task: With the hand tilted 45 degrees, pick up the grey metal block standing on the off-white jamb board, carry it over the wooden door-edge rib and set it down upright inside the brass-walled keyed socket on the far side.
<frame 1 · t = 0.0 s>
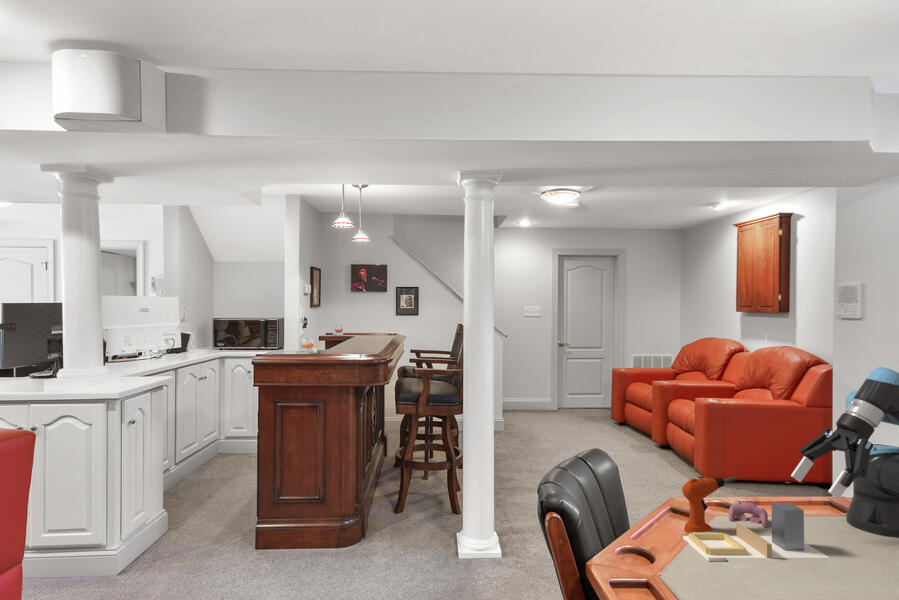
hand: (813, 486, 137), 15 cm above the table, tool tilted 35°, fingers open, 13 cm apart
video game controller: (748, 525, 152), on the table
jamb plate: (753, 549, 134), on the table
grey metal block: (787, 546, 135), point 1 cm above the table, touching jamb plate
toy drill: (710, 530, 147), on the table
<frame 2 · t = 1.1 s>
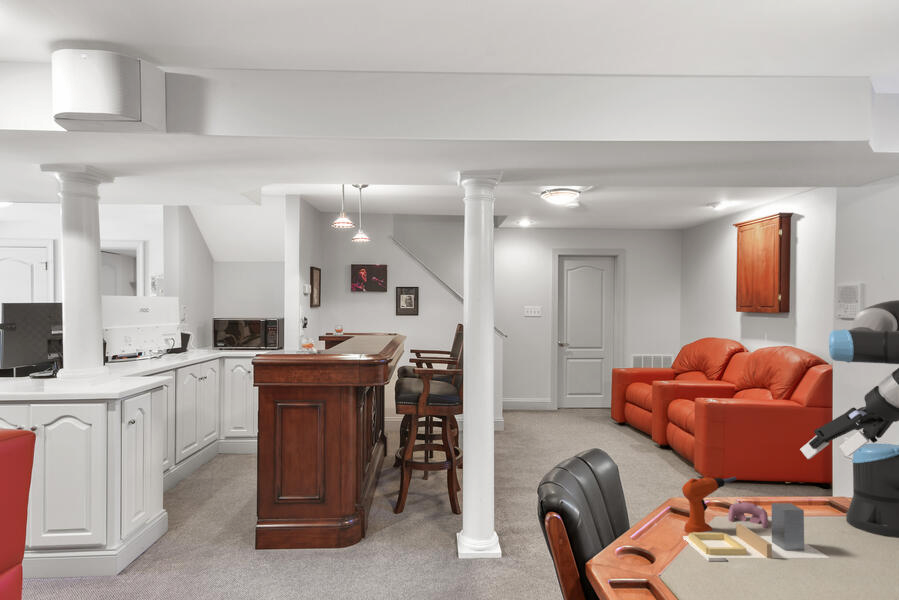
hand: (824, 452, 127), 27 cm above the table, tool tilted 45°, fingers open, 13 cm apart
nothing on the table moved.
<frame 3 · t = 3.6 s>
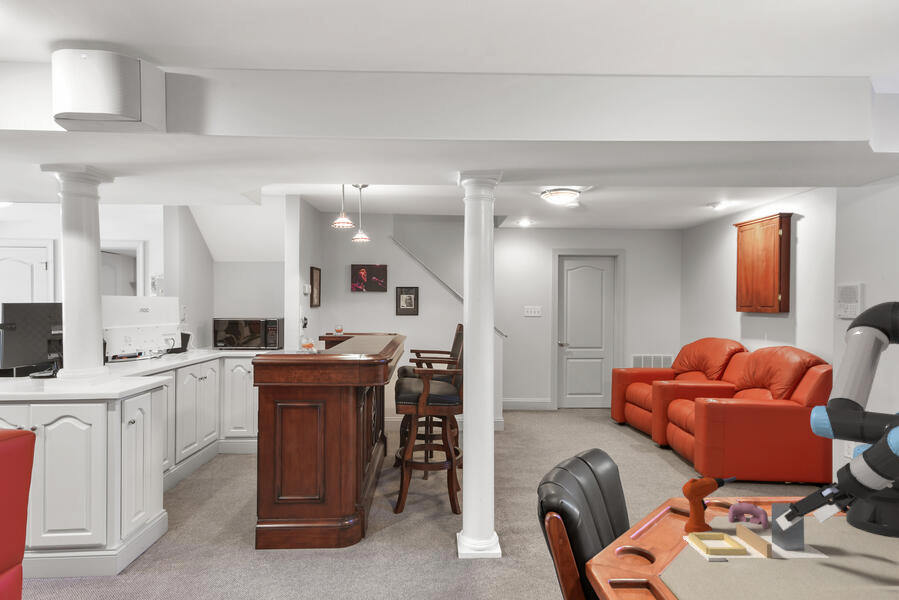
hand: (799, 521, 131), 9 cm above the table, tool tilted 45°, fingers open, 13 cm apart
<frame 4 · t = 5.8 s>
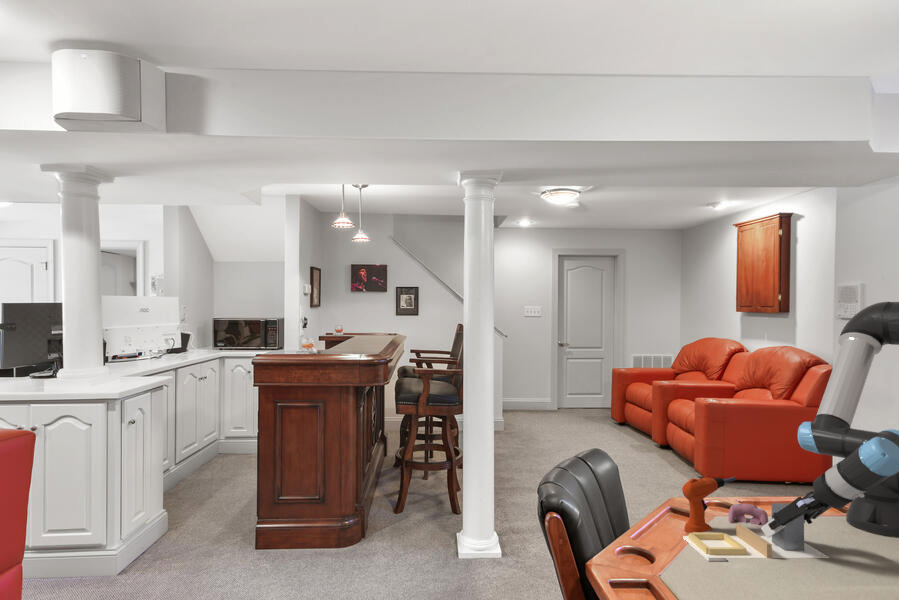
hand: (774, 530, 138), 3 cm above the table, tool tilted 45°, fingers closed on grey metal block, 6 cm apart
grey metal block: (787, 546, 135), point 1 cm above the table, touching gripper, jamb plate
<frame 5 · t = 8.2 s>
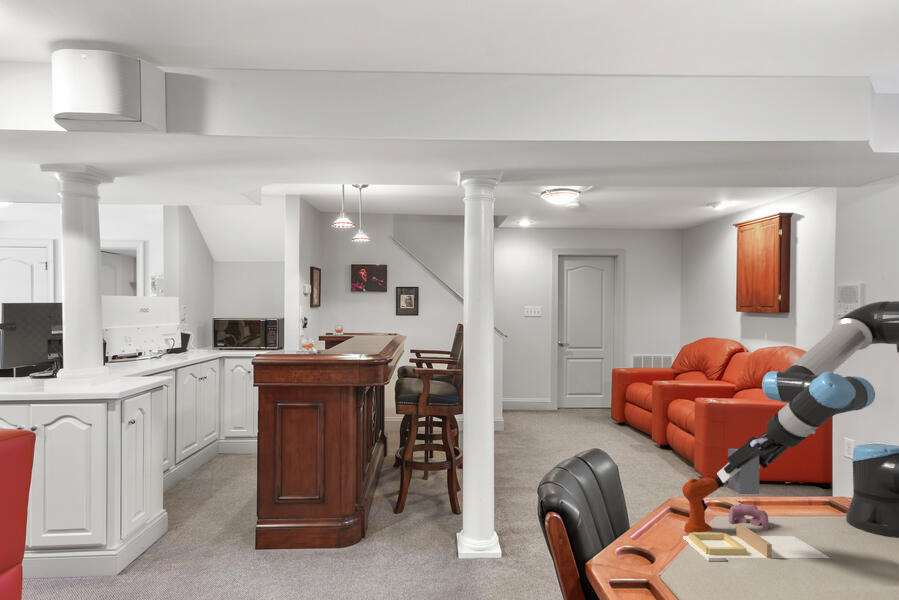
hand: (730, 476, 137), 18 cm above the table, tool tilted 45°, fingers closed on grey metal block, 6 cm apart
grey metal block: (743, 491, 134), point 15 cm above the table, touching gripper
when the fingers open (5 cm above the table, at t = 10.9 s): grey metal block drops 1 cm, resting on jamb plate.
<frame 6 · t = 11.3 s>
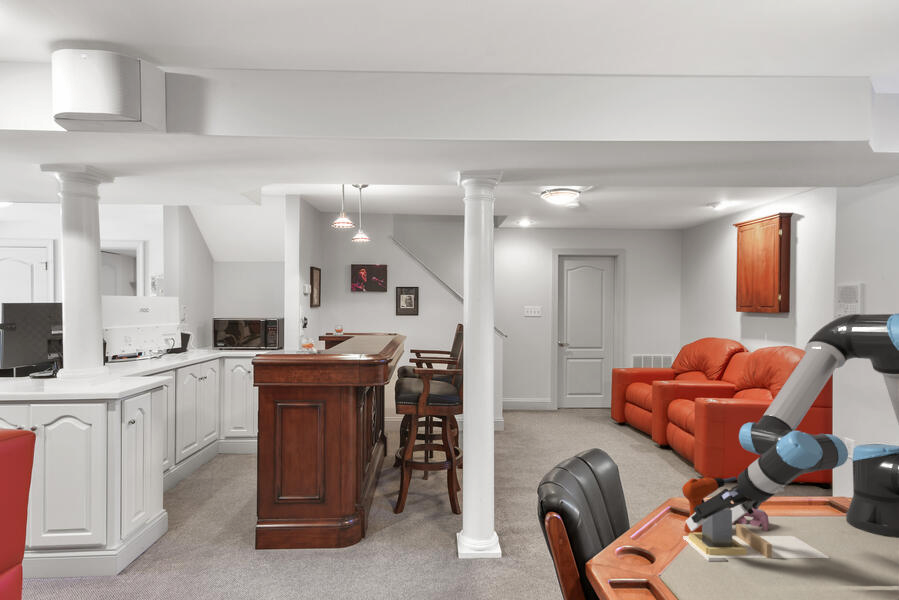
hand: (708, 522, 137), 6 cm above the table, tool tilted 45°, fingers open, 12 cm apart
grey metal block: (716, 546, 134), point 1 cm above the table, touching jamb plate
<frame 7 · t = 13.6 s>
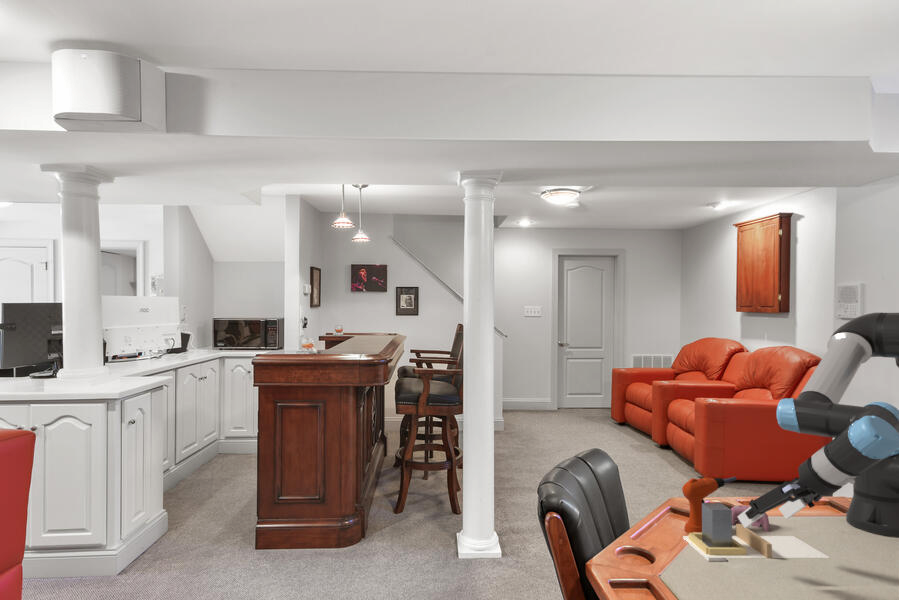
hand: (762, 517, 125), 12 cm above the table, tool tilted 45°, fingers open, 13 cm apart
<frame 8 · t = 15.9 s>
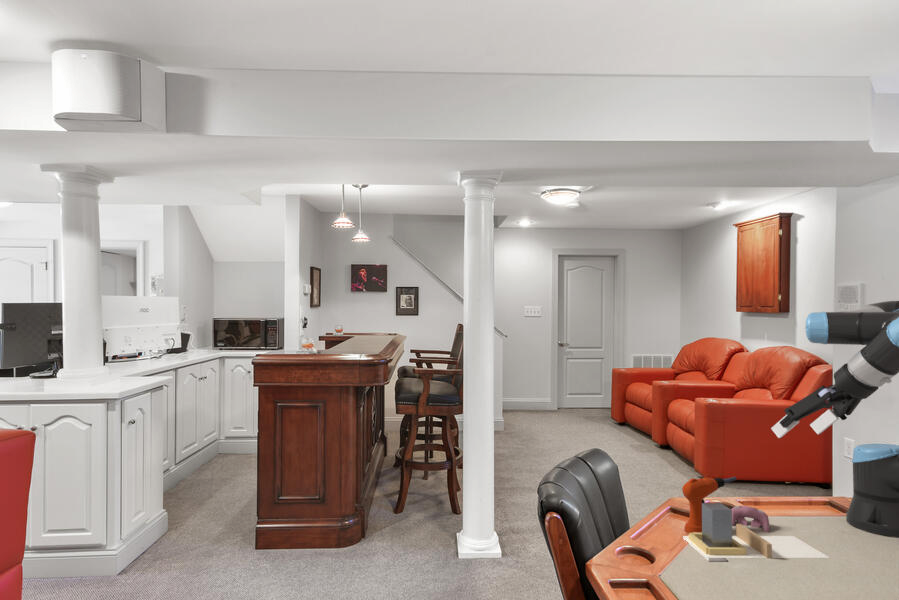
hand: (795, 431, 127), 32 cm above the table, tool tilted 45°, fingers open, 13 cm apart
at the end: grey metal block 0.1 cm from the target spot on the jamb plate, point 0.8 cm above the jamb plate's base; grey metal block tilted 0°; the gripper is holding nothing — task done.
